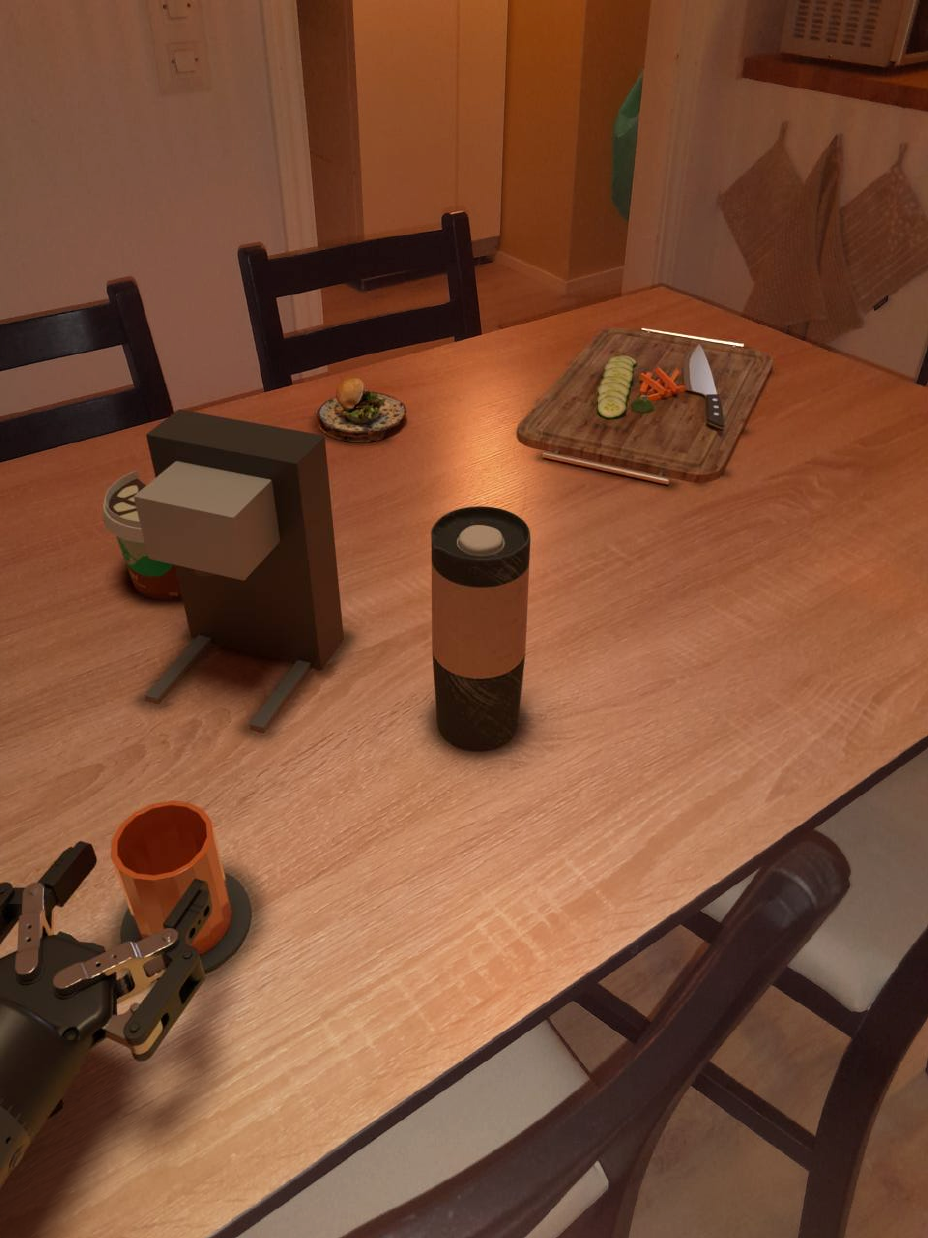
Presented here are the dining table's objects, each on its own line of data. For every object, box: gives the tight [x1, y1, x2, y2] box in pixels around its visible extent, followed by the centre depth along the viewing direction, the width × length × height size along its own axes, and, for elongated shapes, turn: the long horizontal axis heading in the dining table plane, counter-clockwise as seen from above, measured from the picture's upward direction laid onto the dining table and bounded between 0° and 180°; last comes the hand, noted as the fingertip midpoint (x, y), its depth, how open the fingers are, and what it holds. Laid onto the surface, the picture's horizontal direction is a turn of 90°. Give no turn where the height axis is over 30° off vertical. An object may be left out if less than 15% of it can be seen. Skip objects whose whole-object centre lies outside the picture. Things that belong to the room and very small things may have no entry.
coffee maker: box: [134, 408, 345, 734], centre depth 83 cm, size 14×14×22 cm
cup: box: [110, 800, 232, 955], centre depth 66 cm, size 6×6×9 cm
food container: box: [102, 469, 183, 601], centre depth 97 cm, size 12×6×10 cm, turn 42°
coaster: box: [119, 872, 252, 981], centre depth 69 cm, size 9×9×1 cm
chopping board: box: [516, 326, 774, 486], centre depth 134 cm, size 45×27×3 cm, turn 156°
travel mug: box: [430, 505, 531, 752], centre depth 79 cm, size 8×8×20 cm
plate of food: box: [316, 371, 407, 443], centre depth 127 cm, size 12×12×8 cm
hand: (145, 868), depth 62 cm, fingers open, 8 cm apart
